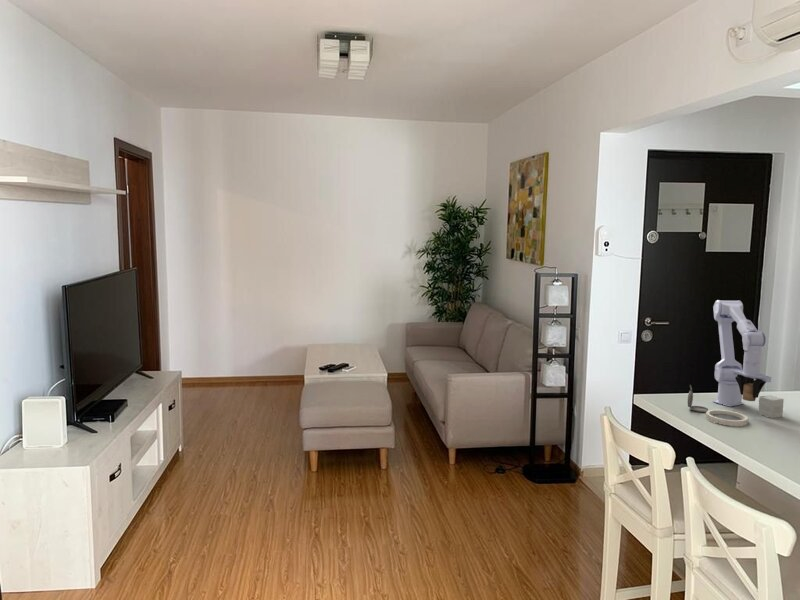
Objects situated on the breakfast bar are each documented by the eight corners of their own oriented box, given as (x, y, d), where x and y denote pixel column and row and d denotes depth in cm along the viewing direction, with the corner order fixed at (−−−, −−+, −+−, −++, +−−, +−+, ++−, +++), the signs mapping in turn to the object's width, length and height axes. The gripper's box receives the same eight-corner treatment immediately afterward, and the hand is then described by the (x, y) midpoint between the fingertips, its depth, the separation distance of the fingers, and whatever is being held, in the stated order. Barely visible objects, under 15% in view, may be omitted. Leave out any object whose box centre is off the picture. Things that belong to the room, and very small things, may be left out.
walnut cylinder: (746, 397, 234) (747, 382, 233) (757, 400, 230) (759, 385, 229) (740, 398, 232) (741, 384, 231) (751, 401, 228) (752, 386, 227)
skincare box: (782, 417, 232) (784, 398, 231) (770, 418, 230) (772, 400, 229) (769, 412, 238) (770, 394, 237) (757, 413, 236) (758, 395, 235)
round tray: (720, 412, 236) (720, 407, 236) (755, 422, 224) (755, 417, 224) (698, 417, 230) (698, 412, 230) (732, 428, 218) (733, 423, 217)
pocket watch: (711, 413, 236) (713, 388, 235) (690, 412, 236) (691, 388, 235) (701, 407, 244) (703, 383, 243) (681, 406, 244) (682, 383, 243)
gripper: (727, 359, 234) (725, 392, 235) (764, 367, 221) (761, 402, 222) (738, 357, 237) (736, 390, 239) (775, 365, 224) (772, 399, 226)
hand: (749, 395), depth 231 cm, fingers closed on walnut cylinder, 4 cm apart
